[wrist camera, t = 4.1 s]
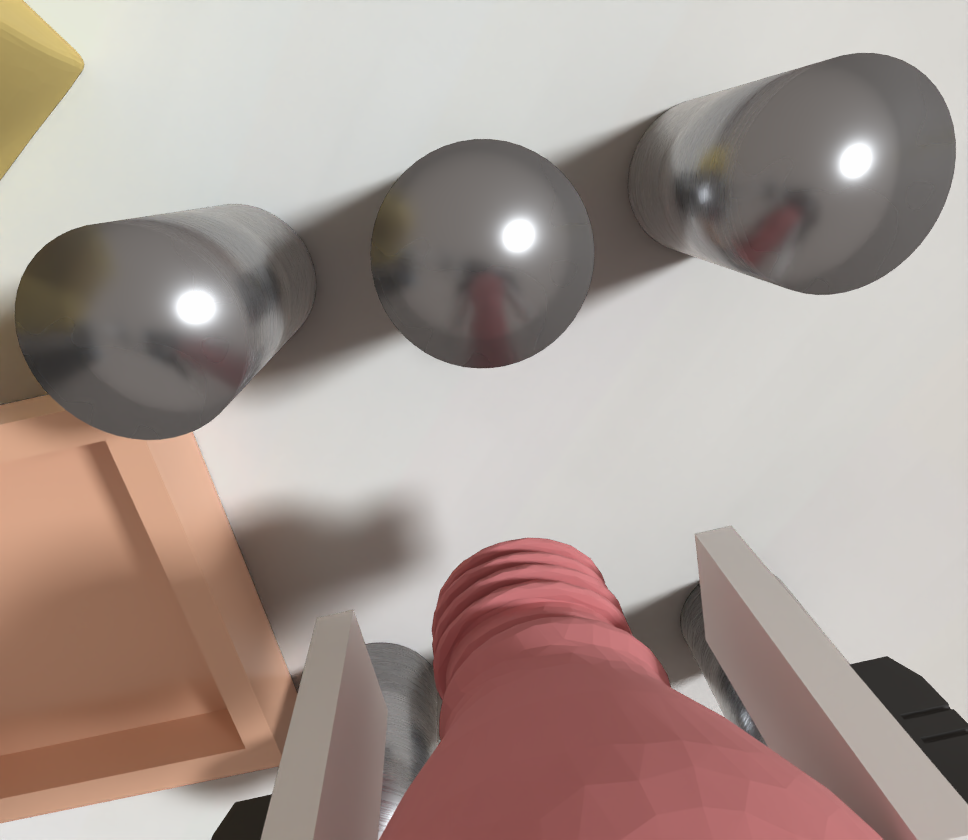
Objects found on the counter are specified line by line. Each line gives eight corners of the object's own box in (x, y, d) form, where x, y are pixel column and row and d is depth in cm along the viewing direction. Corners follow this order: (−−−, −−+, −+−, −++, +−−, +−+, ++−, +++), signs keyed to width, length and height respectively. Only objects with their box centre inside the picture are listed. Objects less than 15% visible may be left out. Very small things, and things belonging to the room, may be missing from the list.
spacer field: (344, 739, 25) (307, 945, 18) (147, 221, 18) (-27, 250, 11) (793, 647, 24) (921, 824, 18) (767, 82, 17) (962, 28, 11)
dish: (-42, 775, 24) (-96, 842, 22) (-257, 461, 19) (-356, 502, 17) (301, 704, 24) (285, 765, 21) (166, 368, 19) (126, 396, 17)
